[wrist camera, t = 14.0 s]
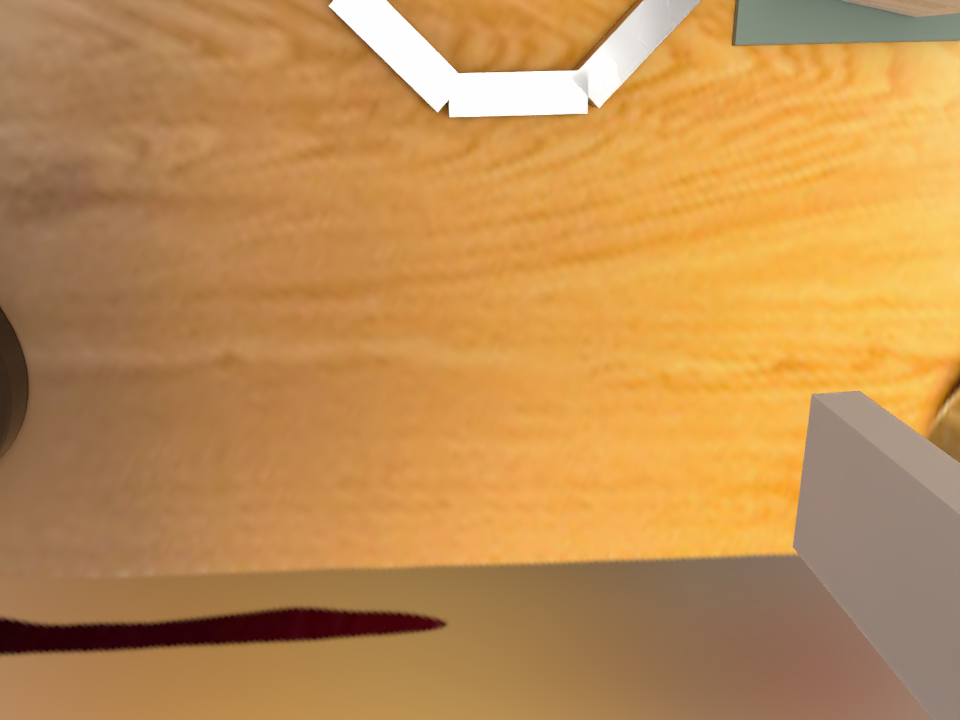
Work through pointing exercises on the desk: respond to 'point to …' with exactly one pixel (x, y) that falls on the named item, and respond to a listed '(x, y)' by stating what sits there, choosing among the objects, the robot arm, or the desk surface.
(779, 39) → the felt pad
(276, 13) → the desk surface
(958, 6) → the supplement box
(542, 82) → the socket collar
